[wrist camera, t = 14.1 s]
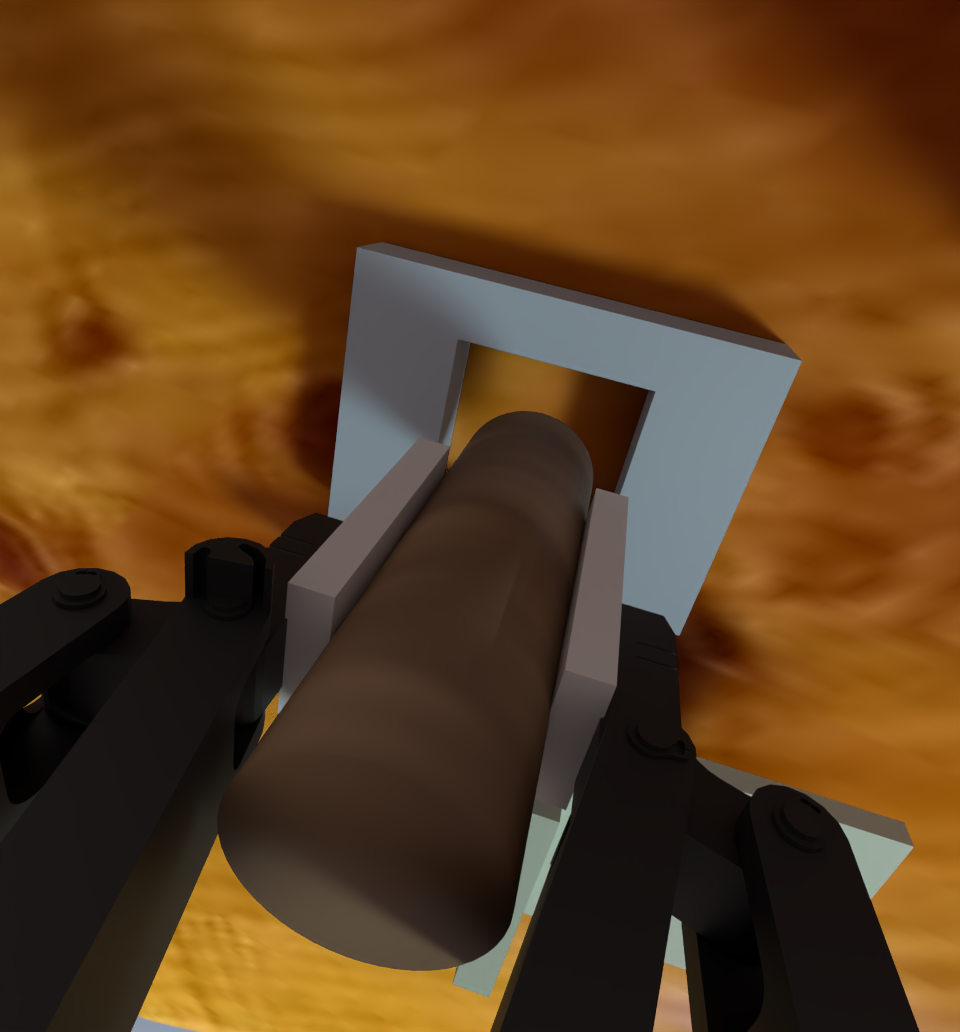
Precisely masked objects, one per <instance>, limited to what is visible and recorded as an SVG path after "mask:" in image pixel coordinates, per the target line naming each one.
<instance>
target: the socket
mask: <svg viewBox="0 0 960 1032" xmlns="http://www.w3.org/2000/svg"><path fill="white" fill-rule="evenodd" d="M471 343H475V344H479V345H482V346H486V347H490V348H494V349H497V350H501V351H505V352H509V353H512V354H516V355H520V356H524V357H527V358H531V359H535V360H539V361H543V362H546V363H550V364H554V365H558V366H561V367H565V368H569V369H573V370H576V371H580V372H584V373H588V374H591V375H595V376H599V377H603V378H607V379H610V380H614V381H618V382H622V383H625V384H629V385H633V386H637V387H640V388H644V389H648V390H649V391H648V394H647V397H646V400H645V403H644V406H643V409H642V412H641V415H640V418H639V421H638V424H637V427H636V430H635V433H634V436H633V439H632V441H631V444H630V447H629V450H628V453H627V456H626V459H625V462H624V465H623V468H622V471H621V474H620V477H619V480H618V483H617V486H616V488H615V491H614V493H616V494H619V495H623V496H626V497H629V499H628V514H627V530H626V546H625V562H624V578H623V593H622V603H623V604H626V605H630V606H633V607H636V608H639V609H643V610H646V611H649V612H653V613H656V614H659V615H663V616H664V617H665V618H666V620H667V622H668V623H669V625H670V627H671V628H672V630H673V632H674V633H675V635H679V636H680V633H681V631H682V629H683V627H684V624H685V622H686V620H687V618H688V615H689V613H690V611H691V609H692V606H693V604H694V602H695V600H696V597H697V595H698V593H699V591H700V588H701V586H702V584H703V582H704V580H705V577H706V575H707V573H708V571H709V568H710V566H711V564H712V562H713V559H714V557H715V555H716V553H717V550H718V548H719V546H720V544H721V541H722V539H723V537H724V535H725V532H726V530H727V528H728V526H729V523H730V521H731V519H732V517H733V514H734V512H735V510H736V508H737V505H738V503H739V501H740V499H741V497H742V494H743V492H744V490H745V488H746V485H747V483H748V481H749V479H750V476H751V474H752V472H753V470H754V467H755V465H756V463H757V461H758V458H759V456H760V454H761V452H762V449H763V447H764V445H765V443H766V440H767V438H768V436H769V434H770V431H771V429H772V427H773V425H774V422H775V420H776V418H777V416H778V414H779V411H780V409H781V407H782V405H783V402H784V400H785V398H786V396H787V393H788V391H789V389H790V387H791V384H792V382H793V380H794V378H795V375H796V373H797V371H798V369H799V366H800V364H801V362H802V360H801V359H800V358H799V357H798V356H797V355H796V354H795V353H794V352H793V350H792V349H791V348H790V347H789V346H788V345H787V344H783V343H779V342H775V341H771V340H767V339H763V338H760V337H756V336H752V335H748V334H744V333H740V332H736V331H732V330H728V329H724V328H720V327H716V326H712V325H708V324H704V323H700V322H696V321H692V320H688V319H685V318H681V317H677V316H673V315H669V314H665V313H661V312H657V311H653V310H649V309H645V308H641V307H637V306H633V305H629V304H625V303H621V302H617V301H613V300H610V299H606V298H602V297H598V296H594V295H590V294H586V293H582V292H578V291H574V290H570V289H566V288H562V287H558V286H554V285H550V284H546V283H542V282H538V281H535V280H531V279H527V278H523V277H519V276H515V275H511V274H507V273H503V272H499V271H495V270H491V269H487V268H483V267H479V266H475V265H471V264H467V263H463V262H460V261H456V260H452V259H448V258H444V257H440V256H436V255H432V254H428V253H424V252H420V251H416V250H412V249H408V248H404V247H400V246H396V245H392V244H388V243H385V242H380V243H375V244H370V245H366V246H361V247H357V251H356V260H355V269H354V279H353V288H352V297H351V306H350V316H349V325H348V334H347V343H346V353H345V362H344V371H343V381H342V390H341V399H340V408H339V418H338V427H337V436H336V445H335V455H334V464H333V473H332V482H331V492H330V501H329V510H328V517H332V518H335V519H338V520H341V521H344V520H345V519H346V518H347V517H348V516H349V515H350V514H351V513H352V512H353V510H354V509H355V508H356V507H357V506H358V505H359V504H360V503H361V502H362V501H363V499H364V498H365V497H366V496H367V495H368V494H369V493H370V492H371V491H372V490H373V488H374V487H375V486H376V485H377V484H378V483H379V482H380V481H381V480H382V479H383V477H384V476H385V475H386V474H387V473H388V472H389V471H390V470H391V469H392V468H393V467H394V465H395V464H396V463H397V462H398V461H399V460H400V459H401V458H402V457H403V456H404V454H405V453H406V452H407V451H408V450H409V449H410V448H411V447H412V446H413V445H414V443H415V442H416V441H417V440H418V439H419V438H422V439H426V440H429V441H433V442H436V443H440V444H443V445H447V446H450V445H451V439H452V434H453V429H454V424H455V419H456V414H457V409H458V404H459V399H460V394H461V389H462V384H463V379H464V374H465V369H466V364H467V359H468V354H469V349H470V344H471Z"/></svg>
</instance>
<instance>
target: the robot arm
mask: <svg viewBox="0 0 960 1032" xmlns="http://www.w3.org/2000/svg"><path fill="white" fill-rule="evenodd" d="M449 450H450V446H447V445H443V444H440V443H436V442H433V441H429V440H426V439H422V438H419V439H418V440H417V441H416V442H415V443H414V445H413V446H412V447H411V448H410V449H409V450H408V451H407V452H406V453H405V454H404V456H403V457H402V458H401V459H400V460H399V461H398V462H397V463H396V464H395V465H394V467H393V468H392V469H391V470H390V471H389V472H388V473H387V474H386V475H385V476H384V477H383V479H382V480H381V481H380V482H379V483H378V484H377V485H376V486H375V487H374V488H373V490H372V491H371V492H370V493H369V494H368V495H367V496H366V497H365V498H364V499H363V501H362V502H361V503H360V504H359V505H358V506H357V507H356V508H355V509H354V510H353V512H352V513H351V514H350V515H349V516H348V517H347V518H346V519H345V520H344V521H341V520H338V519H335V518H332V517H328V516H325V515H322V514H318V513H315V514H312V515H309V516H307V517H304V518H302V519H299V520H297V521H295V522H293V523H292V524H291V525H290V526H289V527H288V528H287V529H286V530H285V531H284V532H283V533H282V534H281V537H278V538H277V539H275V540H274V541H273V542H272V543H271V544H270V547H269V548H268V547H267V548H265V547H264V546H262V545H261V544H259V543H256V542H253V541H250V540H247V539H241V538H230V537H226V538H217V539H210V540H207V541H204V542H201V543H198V544H195V545H194V546H193V547H191V548H190V549H189V550H187V551H186V552H185V598H184V599H183V601H182V602H164V601H153V600H141V599H131V592H130V586H129V584H128V583H127V581H126V579H125V578H123V577H122V576H120V575H118V574H117V573H115V572H112V571H108V570H103V569H99V568H78V569H73V570H68V571H63V572H59V573H57V574H54V575H52V576H50V577H47V578H45V579H43V580H41V581H39V582H38V583H36V584H34V585H33V586H31V587H29V588H27V589H26V590H24V591H22V592H21V593H19V594H17V595H15V596H14V597H12V598H10V599H9V600H7V601H5V602H4V603H2V604H0V1032H131V1030H132V1028H133V1025H134V1023H135V1021H136V1019H137V1016H138V1014H139V1012H140V1010H141V1007H142V1005H143V1003H144V1000H145V998H146V996H147V994H148V991H149V989H150V987H151V985H152V982H153V980H154V978H155V975H156V973H157V971H158V969H159V966H160V964H161V962H162V960H163V957H164V955H165V953H166V950H167V948H168V946H169V944H170V941H171V939H172V937H173V935H174V932H175V930H176V928H177V925H178V923H179V921H180V919H181V916H182V914H183V912H184V910H185V907H186V905H187V903H188V900H189V898H190V896H191V894H192V891H193V889H194V887H195V885H196V882H197V880H198V878H199V875H200V873H201V871H202V869H203V866H204V864H205V862H206V860H207V857H208V855H209V853H210V850H211V848H212V846H213V844H214V841H215V839H216V837H217V835H218V826H217V816H218V808H219V805H220V802H221V798H222V796H223V794H224V792H225V791H226V789H227V787H228V785H229V784H230V783H231V781H232V780H233V778H234V777H235V775H236V774H237V773H238V771H239V770H240V768H241V767H242V765H243V764H244V763H245V761H246V760H247V758H248V757H249V755H250V754H251V753H252V751H253V750H254V748H255V747H256V745H257V744H258V741H259V739H260V737H261V735H262V732H263V727H264V721H265V709H266V708H267V706H268V705H269V704H270V702H271V701H272V699H273V698H274V697H275V695H276V694H277V693H278V691H279V701H278V713H280V711H281V710H282V708H283V707H284V705H285V704H286V703H287V701H288V700H289V698H290V697H291V696H292V694H293V693H294V691H295V690H296V688H297V687H298V686H299V684H300V683H301V681H302V680H303V678H304V677H305V676H306V674H307V673H308V671H309V670H310V668H311V667H312V666H313V664H314V663H315V661H316V660H317V658H318V657H319V656H320V654H321V653H322V651H323V650H324V648H325V647H326V646H327V644H328V643H329V641H330V640H331V638H332V637H333V636H334V634H335V633H336V631H337V630H338V628H339V627H340V626H341V624H342V623H343V621H344V620H345V618H346V617H347V616H348V614H349V613H350V611H351V610H352V608H353V607H354V606H355V604H356V603H357V601H358V600H359V598H360V597H361V596H362V594H363V593H364V591H365V590H366V588H367V587H368V586H369V584H370V583H371V581H372V580H373V578H374V577H375V576H376V574H377V573H378V571H379V570H380V568H381V567H382V566H383V564H384V563H385V561H386V560H387V559H388V557H389V556H390V554H391V553H392V551H393V550H394V549H395V547H396V546H397V544H398V543H399V541H400V540H401V539H402V537H403V536H404V534H405V533H406V531H407V530H408V529H409V527H410V526H411V524H412V523H413V521H414V520H415V519H416V517H417V516H418V514H419V513H420V511H421V510H422V509H423V507H424V506H425V504H426V503H427V501H428V500H429V499H430V497H431V496H432V494H433V493H434V491H435V490H436V489H437V487H438V486H439V484H440V483H441V481H442V480H443V479H444V475H445V470H446V465H447V460H448V455H449ZM628 499H629V497H626V496H623V495H619V494H616V493H612V492H609V491H605V490H602V489H598V488H596V491H595V494H594V497H593V500H592V503H591V506H590V509H589V512H588V515H587V518H586V521H585V526H584V532H583V537H582V542H581V548H580V553H579V558H578V564H577V569H576V575H575V580H574V585H573V591H572V596H571V601H570V607H569V612H568V617H567V623H566V628H565V633H564V639H563V644H562V649H561V655H560V660H559V665H558V671H557V676H556V681H555V687H554V692H553V697H552V703H551V708H550V713H549V725H548V730H547V736H546V741H545V746H544V752H543V757H542V763H541V768H540V774H539V779H538V784H537V790H536V795H535V800H537V801H540V802H543V803H546V804H549V805H552V806H555V807H558V808H561V809H564V810H566V809H567V807H568V804H569V802H570V799H571V797H572V795H573V800H572V808H571V814H570V816H569V819H568V821H567V823H566V826H565V828H564V831H563V833H562V836H561V838H560V840H559V843H558V845H557V848H556V850H555V852H554V855H553V857H552V860H551V862H550V864H551V866H550V869H549V872H548V874H547V877H546V880H545V883H544V885H543V888H542V891H541V894H540V896H539V899H538V902H537V905H536V907H535V910H534V913H533V916H532V918H531V921H530V924H529V927H528V929H527V932H526V935H525V938H524V940H523V943H522V946H521V949H520V951H519V954H518V957H517V960H516V962H515V965H514V968H513V971H512V973H511V976H510V979H509V982H508V984H507V987H506V990H505V993H504V995H503V998H502V1001H501V1004H500V1006H499V1009H498V1012H497V1015H496V1017H495V1020H494V1023H493V1026H492V1029H491V1031H490V1032H653V1027H654V1021H655V1014H656V1008H657V1002H658V996H659V990H660V984H661V978H662V972H663V966H664V959H665V953H666V947H667V941H668V935H669V929H670V923H671V917H672V916H674V917H675V918H677V919H678V920H679V921H681V922H682V923H681V927H682V936H683V946H684V955H685V965H686V975H687V984H688V994H689V1003H690V1013H691V1023H692V1032H919V1029H918V1026H917V1024H916V1021H915V1018H914V1016H913V1013H912V1010H911V1007H910V1005H909V1002H908V999H907V997H906V994H905V991H904V988H903V986H902V983H901V980H900V978H899V975H898V972H897V970H896V967H895V964H894V961H893V959H892V956H891V953H890V951H889V948H888V945H887V943H886V940H885V937H884V934H883V932H882V929H881V926H880V924H879V921H878V918H877V915H876V913H875V910H874V907H873V905H872V902H871V899H870V897H869V894H868V891H867V888H866V886H865V883H864V880H863V878H862V875H861V872H860V870H859V867H858V864H857V861H856V859H855V856H854V853H853V851H852V848H851V845H850V843H849V840H848V838H847V836H846V835H845V833H844V831H843V829H842V828H841V826H840V824H839V823H838V821H837V820H836V819H835V818H834V817H833V816H832V815H831V814H830V813H829V812H828V811H827V810H826V809H825V808H824V807H823V806H822V805H820V804H819V803H818V802H816V801H815V800H813V799H812V798H810V797H809V796H808V795H806V794H804V793H802V792H799V791H797V790H795V789H792V788H790V787H787V786H780V785H772V784H769V785H766V786H763V787H760V788H757V789H756V791H755V792H754V793H753V795H752V796H749V795H747V794H745V793H744V792H742V791H740V790H739V789H737V788H735V787H734V786H732V785H730V784H729V783H727V782H725V781H723V780H722V779H720V778H719V777H717V776H716V775H715V774H713V773H712V772H710V771H709V770H708V769H707V768H706V767H704V766H703V765H702V764H701V763H700V762H699V761H698V760H697V758H696V748H695V746H694V744H693V743H692V741H691V739H690V737H689V735H688V734H687V733H686V732H685V731H684V730H683V729H682V728H681V714H680V698H679V681H678V672H677V669H678V665H677V657H676V654H677V649H676V635H675V633H674V632H673V630H672V628H671V627H670V625H669V623H668V622H667V620H666V618H665V617H664V616H663V615H659V614H656V613H653V612H649V611H646V610H643V609H639V608H636V607H633V606H630V605H626V604H623V603H622V593H623V578H624V562H625V546H626V530H627V514H628ZM40 694H42V696H41V697H40V698H39V699H38V700H36V701H35V702H34V703H32V704H30V705H28V706H26V705H27V704H29V703H30V702H31V701H32V700H34V699H35V698H36V697H38V696H39V695H40ZM25 706H26V707H25ZM23 707H24V708H23Z"/></svg>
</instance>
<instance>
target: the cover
mask: <svg viewBox="0 0 960 1032" xmlns="http://www.w3.org/2000/svg"><path fill="white" fill-rule="evenodd" d="M696 758H697V760H698V761H699V762H700V763H701V764H702V765H703V766H704V767H706V768H707V769H708V770H709V771H710V772H712V773H713V774H715V775H716V776H717V777H719V778H720V779H722V780H723V781H725V782H727V783H729V784H730V785H732V786H734V787H735V788H737V789H739V790H740V791H742V792H744V793H745V794H747V795H749V796H752V795H753V793H754V792H755V791H756V789H757V788H760V787H763V786H766V785H769V784H772V785H780V786H787V787H790V788H792V789H795V790H797V791H799V792H802V793H804V794H806V795H808V796H809V797H810V798H812V799H813V800H815V801H816V802H818V803H819V804H820V805H822V806H823V807H824V808H825V809H826V810H827V811H828V812H829V813H830V814H831V815H832V816H833V817H834V818H835V819H836V820H837V821H838V823H839V824H840V826H841V828H842V829H843V831H844V833H845V835H846V836H847V838H848V840H849V843H850V845H851V848H852V851H853V853H854V856H855V859H856V861H857V864H858V867H859V870H860V872H861V875H862V878H863V880H864V883H865V886H866V888H867V891H868V894H869V897H870V899H871V898H872V897H873V896H874V895H875V894H876V892H877V891H878V890H879V889H880V887H881V886H882V885H883V884H884V883H885V881H886V880H887V879H888V878H889V877H890V875H891V874H892V873H893V872H894V871H895V869H896V868H897V867H898V866H899V864H900V863H901V862H902V861H903V860H904V858H905V857H906V856H907V855H908V854H909V852H910V851H911V850H912V849H913V847H914V846H913V843H912V841H911V838H910V836H909V833H908V831H907V828H906V826H905V824H904V822H900V821H897V820H894V819H891V818H888V817H885V816H882V815H879V814H875V813H872V812H869V811H866V810H863V809H860V808H857V807H853V806H850V805H847V804H844V803H841V802H838V801H835V800H832V799H828V798H825V797H822V796H819V795H816V794H813V793H810V792H806V791H803V790H800V789H797V788H794V787H791V786H788V785H785V784H781V783H778V782H775V781H772V780H769V779H766V778H763V777H759V776H756V775H753V774H750V773H747V772H744V771H741V770H738V769H734V768H731V767H728V766H725V765H722V764H719V763H716V762H712V761H709V760H706V759H703V758H700V757H697V756H696ZM572 800H573V795H572V797H571V799H570V802H569V804H568V807H567V809H566V810H564V809H561V808H558V807H555V806H552V805H549V804H546V803H543V802H540V801H537V800H535V801H534V806H533V811H532V817H531V822H530V828H529V833H528V838H527V844H526V849H525V855H524V860H523V866H522V871H521V876H520V882H519V887H518V893H517V898H516V903H515V909H514V914H513V917H512V921H511V925H510V927H509V929H508V931H507V932H506V934H505V936H504V937H503V939H502V940H501V941H500V942H499V943H498V945H497V946H496V947H494V948H493V949H492V950H491V951H489V952H488V953H487V954H485V955H483V956H482V957H480V958H478V959H476V960H474V961H472V962H469V963H466V964H464V965H461V966H457V968H456V972H455V976H454V980H453V984H454V985H456V986H459V987H462V988H464V989H467V990H470V991H473V992H475V993H478V994H481V995H484V996H486V997H489V996H490V994H491V991H492V989H493V986H494V984H495V981H496V979H497V976H498V974H499V971H500V969H501V967H502V964H503V962H504V959H505V957H506V954H507V952H508V949H509V947H510V944H511V942H512V939H513V937H514V934H515V932H516V930H517V927H518V925H519V922H520V920H521V917H522V915H523V913H526V914H528V915H531V916H533V913H534V910H535V907H536V905H537V902H538V899H539V896H540V894H541V891H542V888H543V885H544V883H545V880H546V877H547V874H548V872H549V869H550V866H551V864H550V862H551V860H552V857H553V855H554V852H555V850H556V848H557V845H558V843H559V840H560V838H561V836H562V833H563V831H564V828H565V826H566V823H567V821H568V819H569V816H570V814H571V808H572ZM681 923H682V922H681V921H679V920H678V919H677V918H675V917H674V916H672V917H671V923H670V929H669V935H668V941H667V947H666V953H665V959H664V962H665V963H668V964H670V965H673V966H676V967H679V968H682V969H685V970H686V965H685V955H684V946H683V936H682V927H681Z"/></svg>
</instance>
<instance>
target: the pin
mask: <svg viewBox="0 0 960 1032" xmlns="http://www.w3.org/2000/svg"><path fill="white" fill-rule="evenodd" d="M592 487H593V466H592V461H591V458H590V455H589V453H588V451H587V449H586V447H585V445H584V443H583V442H582V440H581V439H580V438H579V437H578V435H577V434H576V433H575V432H574V431H573V430H572V429H571V428H569V427H568V426H567V425H565V424H564V423H562V422H561V421H559V420H557V419H555V418H553V417H551V416H548V415H545V414H542V413H537V412H529V411H519V412H512V413H507V414H504V415H501V416H498V417H496V418H494V419H492V420H490V421H489V422H487V423H486V424H484V425H483V426H482V427H481V428H480V429H479V430H478V431H477V432H476V433H475V435H474V436H473V437H472V439H471V440H470V441H469V443H468V444H467V446H466V447H465V449H464V450H463V451H462V453H461V454H460V456H459V457H458V459H457V460H456V461H455V463H454V464H453V466H452V467H451V469H450V470H449V471H448V473H447V474H446V476H445V477H444V479H443V480H442V481H441V483H440V484H439V486H438V487H437V489H436V490H435V491H434V493H433V494H432V496H431V497H430V499H429V500H428V501H427V503H426V504H425V506H424V507H423V509H422V510H421V511H420V513H419V514H418V516H417V517H416V519H415V520H414V521H413V523H412V524H411V526H410V527H409V529H408V530H407V531H406V533H405V534H404V536H403V537H402V539H401V540H400V541H399V543H398V544H397V546H396V547H395V549H394V550H393V551H392V553H391V554H390V556H389V557H388V559H387V560H386V561H385V563H384V564H383V566H382V567H381V568H380V570H379V571H378V573H377V574H376V576H375V577H374V578H373V580H372V581H371V583H370V584H369V586H368V587H367V588H366V590H365V591H364V593H363V594H362V596H361V597H360V598H359V600H358V601H357V603H356V604H355V606H354V607H353V608H352V610H351V611H350V613H349V614H348V616H347V617H346V618H345V620H344V621H343V623H342V624H341V626H340V627H339V628H338V630H337V631H336V633H335V634H334V636H333V637H332V638H331V640H330V641H329V643H328V644H327V646H326V647H325V648H324V650H323V651H322V653H321V654H320V656H319V657H318V658H317V660H316V661H315V663H314V664H313V666H312V667H311V668H310V670H309V671H308V673H307V674H306V676H305V677H304V678H303V680H302V681H301V683H300V684H299V686H298V687H297V688H296V690H295V691H294V693H293V694H292V696H291V697H290V698H289V700H288V701H287V703H286V704H285V705H284V707H283V708H282V710H281V711H280V713H279V714H278V715H277V717H276V718H275V720H274V721H273V723H272V724H271V725H270V727H269V728H268V730H267V731H266V733H265V734H264V735H263V737H262V738H261V740H260V741H259V743H258V744H257V745H256V747H255V748H254V750H253V751H252V753H251V754H250V755H249V757H248V758H247V760H246V761H245V763H244V764H243V765H242V767H241V768H240V770H239V771H238V773H237V774H236V775H235V777H234V778H233V780H232V781H231V783H230V784H229V785H228V787H227V789H226V791H225V792H224V794H223V796H222V798H221V802H220V805H219V808H218V816H217V826H218V835H219V839H220V843H221V847H222V849H223V852H224V854H225V857H226V859H227V861H228V863H229V865H230V866H231V868H232V870H233V872H234V873H235V875H236V876H237V878H238V879H239V880H240V882H241V883H242V885H243V886H244V887H245V888H246V889H247V891H248V892H249V893H250V894H251V895H252V896H253V897H254V899H256V900H257V901H258V902H259V903H260V904H261V905H262V906H263V907H264V908H265V909H266V910H267V911H268V912H270V913H271V914H272V915H273V916H274V917H276V918H277V919H278V920H279V921H281V922H282V923H284V924H285V925H286V926H288V927H289V928H291V929H292V930H294V931H295V932H297V933H298V934H300V935H302V936H304V937H305V938H307V939H309V940H310V941H312V942H314V943H316V944H318V945H320V946H322V947H324V948H326V949H328V950H331V951H333V952H336V953H338V954H341V955H343V956H346V957H349V958H352V959H355V960H358V961H361V962H364V963H368V964H372V965H376V966H381V967H387V968H393V969H401V970H412V971H431V970H440V969H448V968H452V967H456V966H461V965H464V964H466V963H469V962H472V961H474V960H476V959H478V958H480V957H482V956H483V955H485V954H487V953H488V952H489V951H491V950H492V949H493V948H494V947H496V946H497V945H498V943H499V942H500V941H501V940H502V939H503V937H504V936H505V934H506V932H507V931H508V929H509V927H510V925H511V921H512V917H513V914H514V909H515V903H516V898H517V893H518V887H519V882H520V876H521V871H522V866H523V860H524V855H525V849H526V844H527V838H528V833H529V828H530V822H531V817H532V811H533V806H534V801H535V795H536V790H537V784H538V779H539V774H540V768H541V763H542V757H543V752H544V746H545V741H546V736H547V730H548V725H549V713H550V708H551V703H552V697H553V692H554V687H555V681H556V676H557V671H558V665H559V660H560V655H561V649H562V644H563V639H564V633H565V628H566V623H567V617H568V612H569V607H570V601H571V596H572V591H573V585H574V580H575V575H576V569H577V564H578V558H579V553H580V548H581V542H582V537H583V532H584V526H585V521H586V518H587V514H588V508H589V503H590V497H591V492H592Z"/></svg>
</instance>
